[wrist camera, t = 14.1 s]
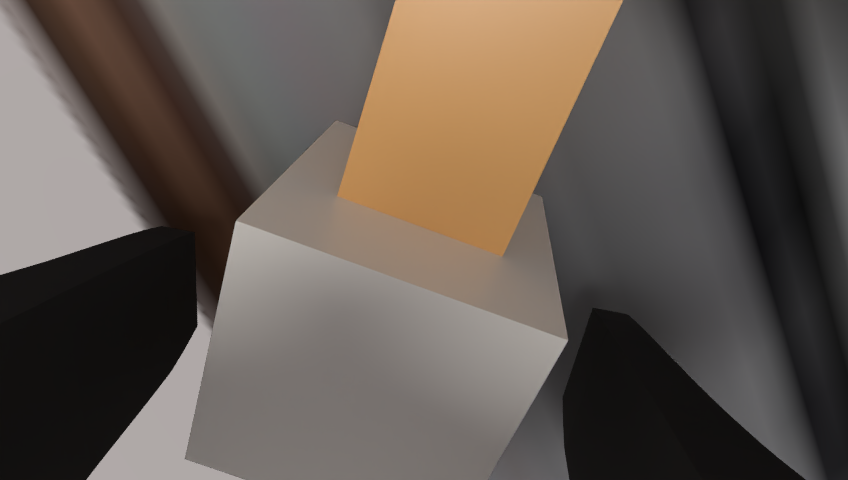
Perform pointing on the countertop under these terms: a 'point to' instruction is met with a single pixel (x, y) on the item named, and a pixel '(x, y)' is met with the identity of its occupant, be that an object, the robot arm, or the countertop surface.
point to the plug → (404, 260)
